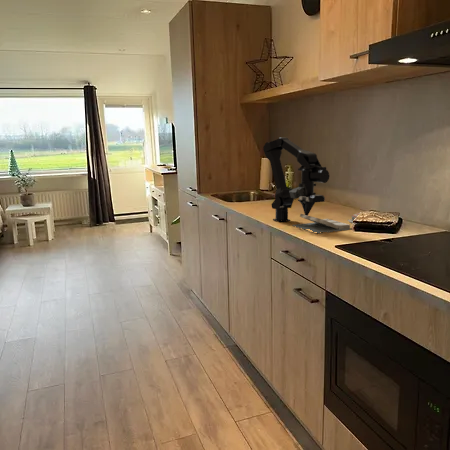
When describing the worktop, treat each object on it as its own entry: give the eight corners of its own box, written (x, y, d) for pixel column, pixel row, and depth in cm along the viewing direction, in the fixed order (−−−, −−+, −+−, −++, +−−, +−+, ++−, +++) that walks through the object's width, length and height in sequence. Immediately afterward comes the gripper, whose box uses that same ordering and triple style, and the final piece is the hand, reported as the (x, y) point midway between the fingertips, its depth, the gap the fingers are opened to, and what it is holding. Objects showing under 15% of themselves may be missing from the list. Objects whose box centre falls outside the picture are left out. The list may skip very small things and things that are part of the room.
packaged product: (384, 218, 185) (362, 219, 185) (383, 229, 186) (361, 229, 186) (367, 211, 203) (347, 212, 202) (367, 221, 204) (347, 222, 203)
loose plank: (299, 216, 193) (300, 213, 193) (315, 222, 198) (317, 219, 198) (320, 222, 179) (322, 219, 179) (337, 229, 183) (339, 225, 183)
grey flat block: (317, 222, 198) (317, 219, 198) (327, 221, 200) (327, 218, 200) (339, 229, 184) (339, 225, 183) (349, 228, 186) (350, 224, 186)
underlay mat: (292, 225, 194) (292, 224, 194) (325, 221, 202) (325, 221, 202) (316, 233, 177) (316, 233, 177) (352, 229, 185) (352, 228, 185)
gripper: (281, 180, 193) (280, 213, 196) (304, 183, 176) (303, 220, 180) (301, 179, 198) (300, 211, 201) (326, 182, 181) (324, 218, 184)
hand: (306, 215), depth 191 cm, fingers closed, pressing on loose plank
